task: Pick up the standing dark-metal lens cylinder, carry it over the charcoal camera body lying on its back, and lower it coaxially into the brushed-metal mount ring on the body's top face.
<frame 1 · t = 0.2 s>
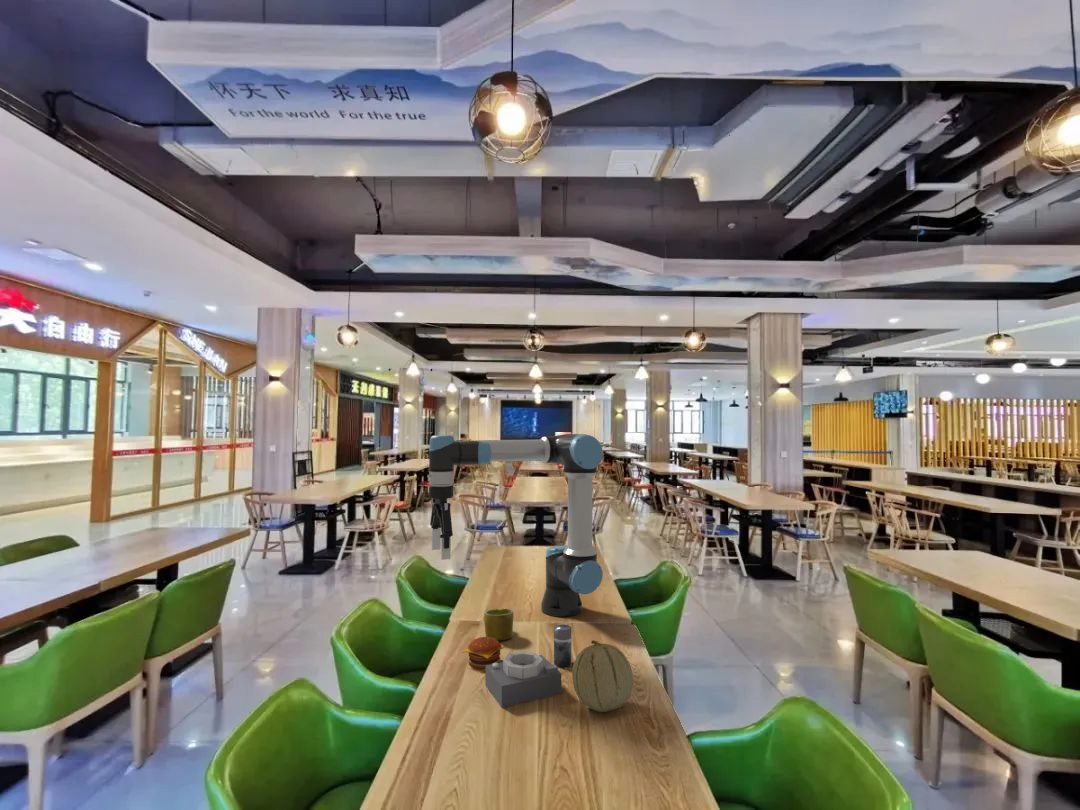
hand: (440, 554, 163), 28 cm above the table, fingers open, 13 cm apart
cantaloupe: (602, 708, 126), on the table
lens: (562, 663, 150), on the table
camera body: (522, 689, 135), on the table
hamburger: (484, 663, 150), on the table
mug: (499, 635, 170), on the table
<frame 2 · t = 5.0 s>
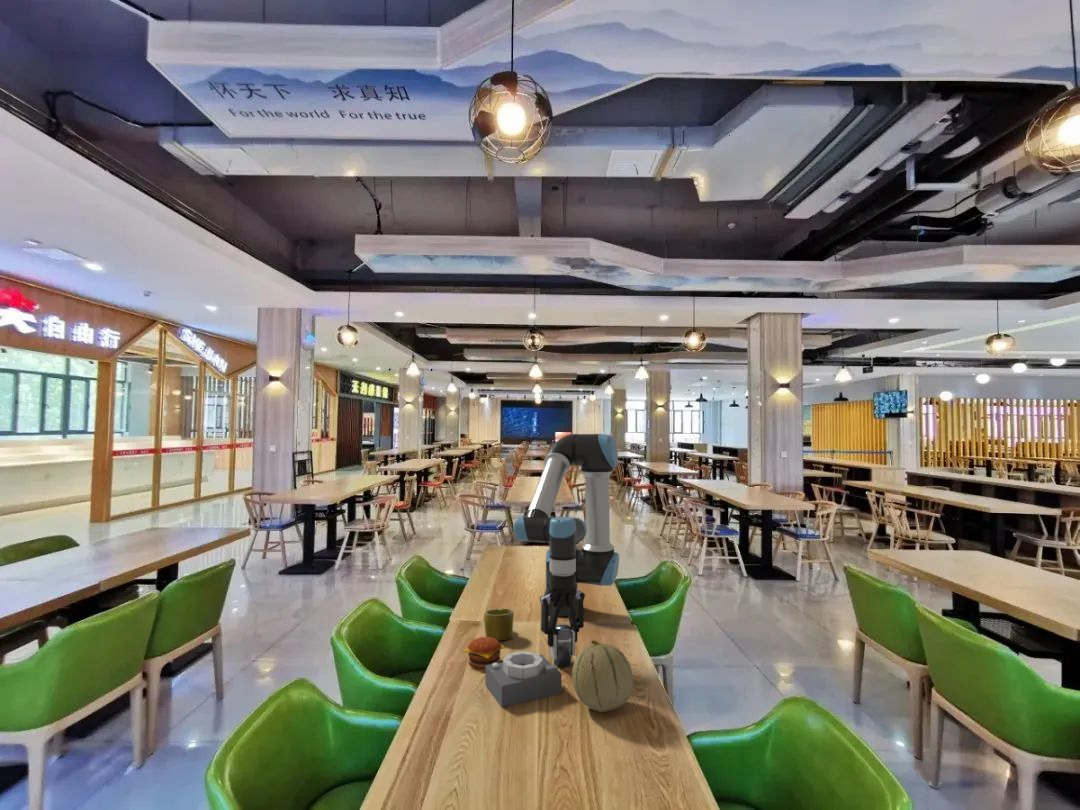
hand: (562, 655, 150), 2 cm above the table, fingers closed on lens, 5 cm apart
lens: (562, 663, 150), on the table, touching gripper
everything else where it was.
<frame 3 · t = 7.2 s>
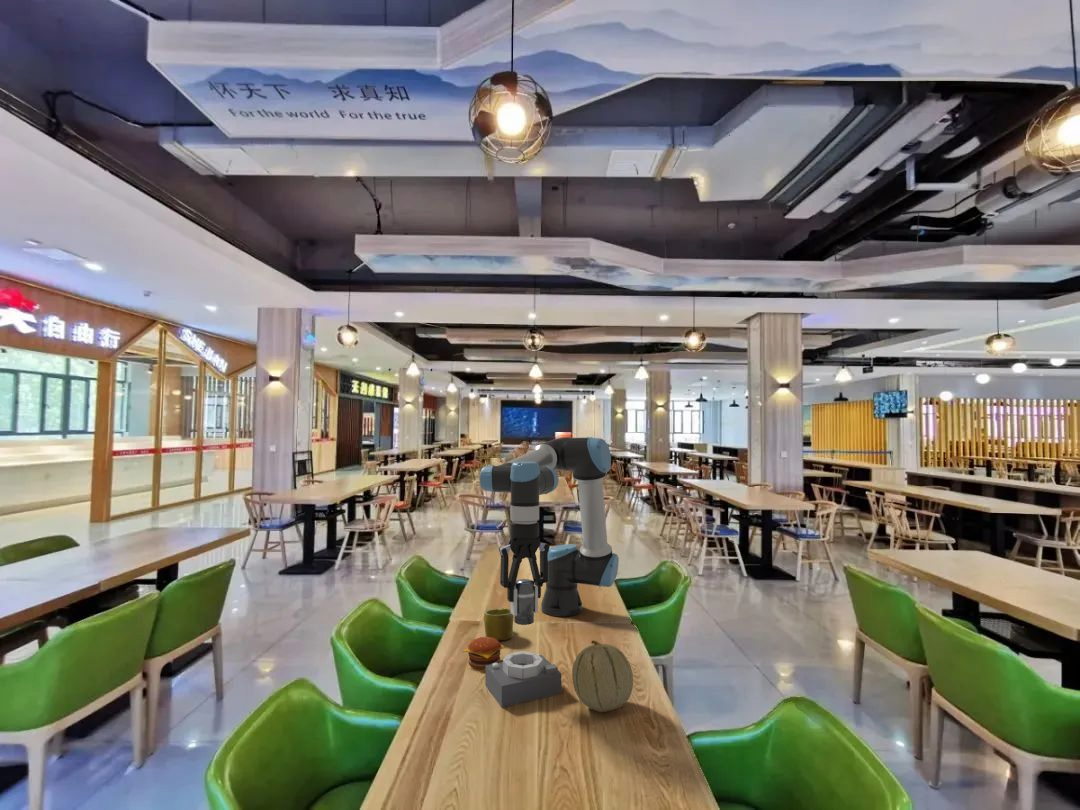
hand: (524, 612, 136), 19 cm above the table, fingers closed on lens, 5 cm apart
lens: (524, 621, 136), point 17 cm above the table, touching gripper
everything else where it was.
when the fingers open (9 cm above the table, at t = 9.7 s): lens drops 2 cm, resting on camera body.
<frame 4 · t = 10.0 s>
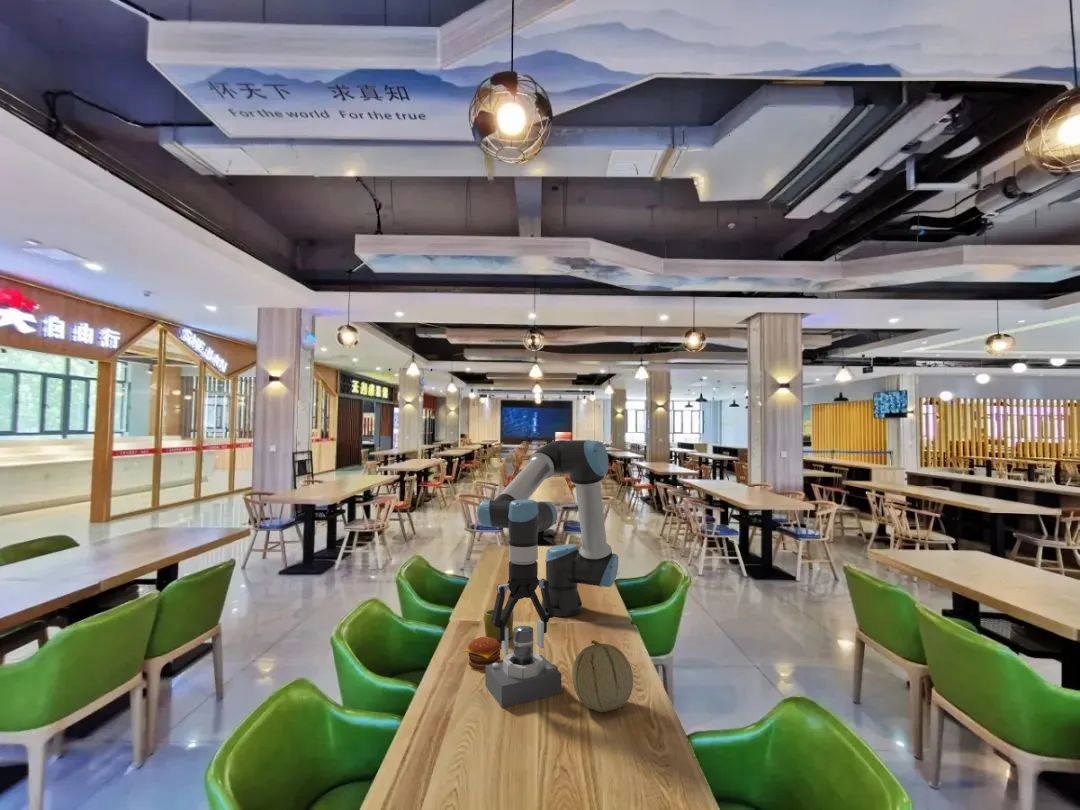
hand: (522, 649, 135), 10 cm above the table, fingers open, 9 cm apart
lens: (523, 669, 135), point 5 cm above the table, touching camera body
everything else where it was.
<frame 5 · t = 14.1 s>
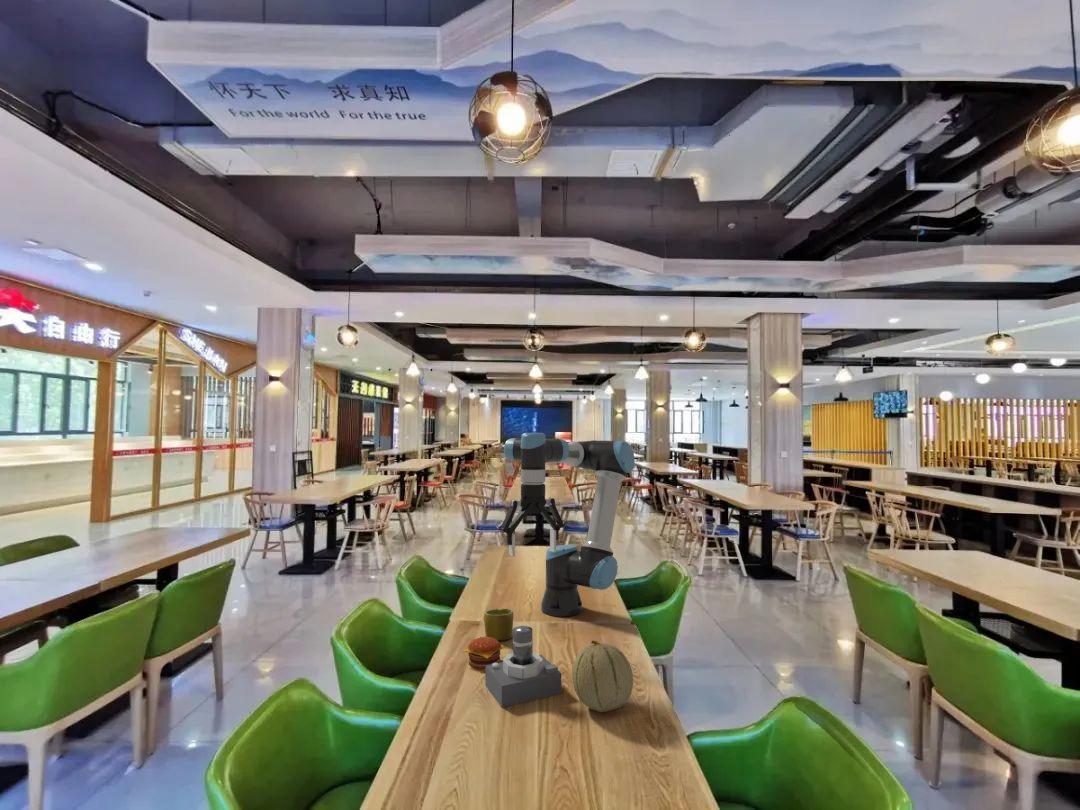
hand: (532, 553, 160), 29 cm above the table, fingers open, 13 cm apart
nothing on the table moved.
at the end: lens 0.1 cm off-centre on the camera body, point 5.0 cm above the camera body's base; lens tilted 1°; the gripper is holding nothing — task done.
